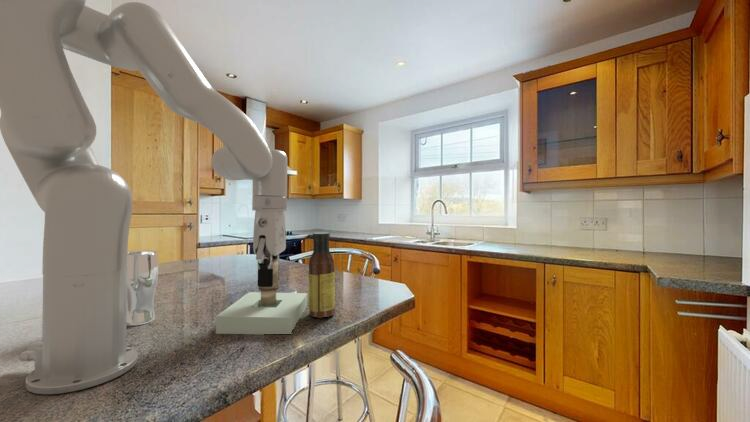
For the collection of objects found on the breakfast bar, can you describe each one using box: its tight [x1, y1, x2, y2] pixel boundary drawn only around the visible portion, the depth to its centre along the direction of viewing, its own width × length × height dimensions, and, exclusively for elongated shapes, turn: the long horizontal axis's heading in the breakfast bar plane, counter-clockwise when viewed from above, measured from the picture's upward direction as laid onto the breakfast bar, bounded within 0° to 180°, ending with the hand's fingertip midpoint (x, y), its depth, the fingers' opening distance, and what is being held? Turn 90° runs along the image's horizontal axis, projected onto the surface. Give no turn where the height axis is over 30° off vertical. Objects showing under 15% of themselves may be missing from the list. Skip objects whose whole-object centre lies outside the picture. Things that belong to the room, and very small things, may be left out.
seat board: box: [215, 291, 308, 335], centre depth 73 cm, size 15×18×4 cm
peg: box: [258, 259, 280, 306], centre depth 73 cm, size 4×4×10 cm
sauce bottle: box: [308, 231, 336, 319], centre depth 76 cm, size 6×6×20 cm
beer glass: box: [126, 250, 159, 327], centre depth 69 cm, size 7×7×15 cm
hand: (268, 282), depth 73 cm, fingers closed on peg, 4 cm apart
